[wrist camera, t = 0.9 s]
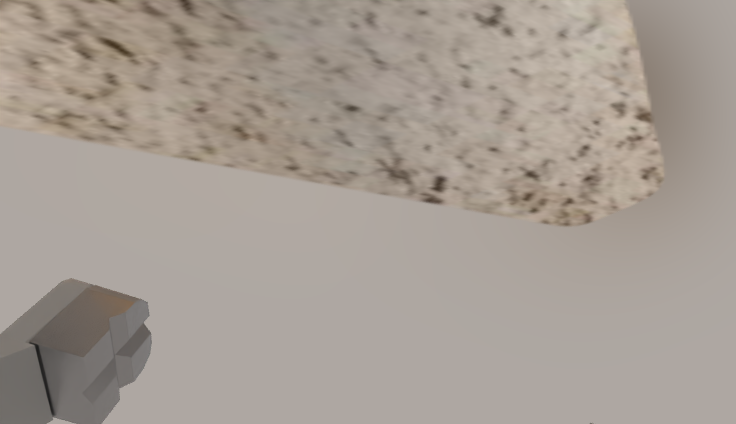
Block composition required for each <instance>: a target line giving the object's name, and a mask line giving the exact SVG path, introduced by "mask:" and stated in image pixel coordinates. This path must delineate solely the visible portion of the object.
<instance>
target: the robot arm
mask: <svg viewBox="0 0 736 424" xmlns="http://www.w3.org/2000/svg"><path fill="white" fill-rule="evenodd" d="M148 317H149V309H148V303H147V302H146V301H144V300H142V299H139V298H136V297H132V296H129V295H126V294H122V293H119V292H116V291H113V290H110V289H106V288H103V287H100V286H97V285H92V284H88V283H85V282H82V281H78V280H75V279H72V278H71V279H68V280H65V281H62V282H61V283H59V284H58V285H57V286H56V287H55V288H54V289H52V290H51V291H50V292H49V293H48V294H47V295H45V296H44V297H43V298H42V299H41V300H40V301H38V302H37V303H36V304H35V305H34V306H33V307H31V308H30V309H29V310H28V311H27V312H26V313H24V314H23V315H22V316H21V317H20V318H19V319H17V320H16V321H15V322H14V323H13V324H12V325H10V326H9V327H8V328H7V329H6V330H5V331H3V332H2V333H1V334H0V424H47V423H48V422H50V421H52V420H53V417H55V418H58V419H62V420H65V421H69V422H73V423H76V424H101V423H102V422H103V421H104V420H105V418H106V417H107V416H108V414H109V413H110V412H111V411H112V409H113V408H114V407H115V405H116V404H117V403H118V402H119V400H120V394H119V388H121V387H123V386H125V385H127V384H130V383H132V382H134V381H135V380H136V378H137V377H138V375H139V374H140V373H141V371H142V370H143V368H144V366H145V364H146V362H147V359H148V357H149V355H150V350H151V344H152V340H151V332H150V331H149V330H148V328H147V327H146V326H145V325H144V321H145V320H146V319H147V318H148ZM590 424H592V423H590Z"/></svg>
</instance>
